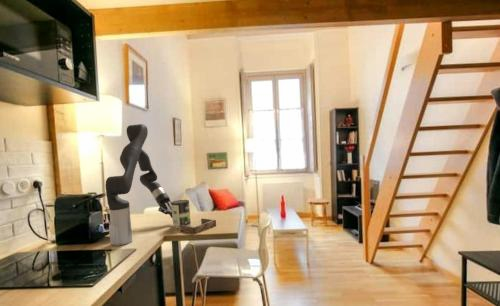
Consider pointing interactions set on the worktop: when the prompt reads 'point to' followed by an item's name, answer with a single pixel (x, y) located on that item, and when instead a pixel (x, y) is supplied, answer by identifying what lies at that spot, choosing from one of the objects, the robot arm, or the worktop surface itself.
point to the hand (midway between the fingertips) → (174, 217)
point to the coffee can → (180, 213)
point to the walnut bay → (199, 226)
